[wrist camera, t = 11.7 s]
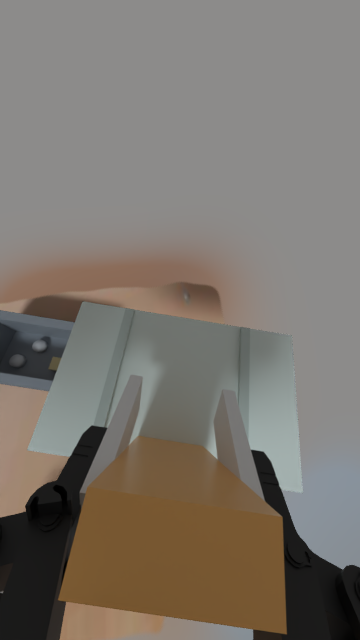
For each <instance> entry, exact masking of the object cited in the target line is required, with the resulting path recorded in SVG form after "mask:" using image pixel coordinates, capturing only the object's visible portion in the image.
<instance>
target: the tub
mask: <svg viewBox="0 0 360 640" xmlns="http://www.w3.org/2000/svg"><path fill="white" fill-rule="evenodd" d="M74 323H75V322H69V321H63V320H57V319H51V318H44V317H38V316H32V315H26V314H20V313H14V312H7V311H1V310H0V384H5V385H12V386H18V387H24V388H31V389H37V390H44V391H49V390H50V388H51V385H52V382H53V380H54V377H55V374H56V372H57V369H58V366H59V363H60V361H61V358H62V355H63V353H64V350H65V347H66V345H67V342H68V339H69V337H70V334H71V331H72V329H73V326H74Z"/></svg>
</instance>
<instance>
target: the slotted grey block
mask: <svg viewBox="0 0 360 640" xmlns="http://www.w3.org/2000/svg"><path fill="white" fill-rule="evenodd" d="M130 375H137V376H143V381H142V390H141V399H140V408H139V413H138V416H137V419H136V423H135V426H134V429H133V433H132V436H131V440H130V443H129V446H128V447H127V448H126V449H125V450H124V451H123V452H122V453H121V454H120V455H119V456H118V457H117V458H116V459H115V460H114V461H113V462H112V463H111V464H110V465H109V466H108V467H107V468H106V469H105V470H104V471H103V472H102V473H101V474H100V475H99V476H98V477H97V478H96V479H95V480H94V481H93V482H92V483H91V484H90V485H89V486H88V487H87V490H86V494H85V498H84V502H83V506H82V509H81V513H80V517H79V521H78V525H77V529H76V533H75V536H74V540H73V544H72V548H71V552H70V556H69V559H68V563H67V567H66V571H65V575H64V579H63V583H62V586H61V590H60V594H59V598H58V600H59V601H66V602H73V603H79V604H86V605H93V606H100V607H106V608H113V609H120V610H126V611H133V612H140V613H147V614H153V615H160V616H167V617H174V618H181V619H187V620H194V621H201V622H208V623H214V624H221V625H227V626H234V627H241V628H248V629H254V630H261V631H268V632H274V633H281V634H287V627H286V599H285V572H284V545H283V517H282V516H281V515H280V514H279V513H277V512H276V511H275V510H274V509H273V508H272V507H271V506H270V505H268V504H267V503H266V502H265V501H264V500H263V499H262V498H261V497H259V496H258V495H257V494H256V493H255V492H254V491H253V490H252V489H250V488H249V487H248V486H247V485H246V484H245V483H244V482H243V481H241V480H240V479H239V478H238V477H236V476H235V475H234V474H233V473H232V472H231V471H230V470H229V469H228V468H226V467H225V466H224V465H223V464H222V463H221V462H220V461H219V460H218V457H217V449H216V440H215V432H214V423H213V421H214V417H215V414H216V410H217V407H218V403H219V399H220V396H221V392H222V389H225V390H232V391H235V395H236V398H237V402H238V406H239V409H240V413H241V416H242V420H243V424H244V427H245V431H246V435H247V438H248V442H249V445H250V449H251V450H257V451H264V453H265V454H266V455H267V457H268V458H269V460H270V461H271V462H272V465H273V468H274V471H275V474H276V477H277V479H278V482H279V487H280V488H281V490H287V491H293V492H299V493H302V492H303V489H302V475H301V460H300V446H299V431H298V416H297V403H296V387H295V373H294V359H293V344H292V336H291V335H286V334H279V333H274V332H267V331H261V330H255V329H250V328H244V327H237V326H231V325H225V324H218V323H212V322H206V321H200V320H194V319H188V318H182V317H176V316H169V315H163V314H157V313H151V312H145V311H139V310H134V309H128V308H120V307H114V306H108V305H102V304H96V303H90V302H84V301H83V302H82V304H81V307H80V310H79V312H78V315H77V318H76V321H75V323H74V326H73V329H72V331H71V334H70V337H69V339H68V342H67V345H66V347H65V350H64V353H63V355H62V358H61V361H60V363H59V366H58V369H57V372H56V374H55V377H54V380H53V382H52V385H51V388H50V390H49V393H48V396H47V398H46V401H45V404H44V406H43V409H42V412H41V414H40V417H39V420H38V423H37V425H36V428H35V431H34V433H33V436H32V439H31V441H30V444H29V447H28V449H27V450H29V451H36V452H42V453H49V454H55V455H61V456H68V457H70V456H71V455H72V452H73V450H74V448H75V447H76V446H77V443H78V441H79V439H80V437H81V436H82V434H83V433H84V432H85V431H86V430H87V429H88V428H89V427H90V426H92V425H93V426H99V427H105V428H108V426H109V424H110V421H111V419H112V417H113V414H114V412H115V410H116V408H117V405H118V403H119V401H120V398H121V396H122V394H123V391H124V389H125V387H126V385H127V382H128V380H129V378H130Z"/></svg>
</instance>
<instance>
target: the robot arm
mask: <svg viewBox="0 0 360 640" xmlns="http://www.w3.org/2000/svg"><path fill="white" fill-rule="evenodd" d="M142 381H143V376H137V375H130V378H129V380H128V382H127V385H126V387H125V389H124V391H123V394H122V396H121V398H120V401H119V403H118V405H117V408H116V410H115V412H114V414H113V417H112V419H111V421H110V424H109V426H108V428H105V427H99V426H93V425H92V426H90V427H89V428H88V429H87V430H86V431H85V432H84V433H83V434H82V436H81V437H80V439H79V441H78V443H77V446H76V447H75V448H74V450H73V452H72V455H71V456H70V458H69V459H68V461H67V463H66V465H65V467H64V468H63V470H62V472H61V474H60V476H59V478H58V479H57V481H53V482H50V483H47V484H45V485H43V486H42V487H40V488H39V489H37V490H36V491H35V493H34V494H33V495H32V496H31V497H30V498H29V500H28V502H27V504H26V506H25V507H26V512H23V513H19V514H15V515H10V516H6V517H2V518H0V592H2V591H3V594H2V597H1V599H0V640H59V639H60V633H61V628H62V622H63V616H64V611H65V605H66V601H59V600H58V598H59V594H60V590H61V586H62V583H63V579H64V575H65V571H66V567H67V563H68V559H69V556H70V552H71V548H72V544H73V540H74V536H75V533H76V529H77V525H78V521H79V517H80V513H81V509H82V506H83V502H84V498H85V494H86V490H87V487H88V486H89V485H90V484H91V483H92V482H93V481H94V480H95V479H96V478H97V477H98V476H99V475H100V474H101V473H102V472H103V471H104V470H105V469H106V468H107V467H108V466H109V465H110V464H111V463H112V462H113V461H114V460H115V459H116V458H117V457H118V456H119V455H120V454H121V453H122V452H123V451H124V450H125V449H126V448H127V447H128V446H129V443H130V440H131V436H132V433H133V429H134V426H135V423H136V419H137V416H138V413H139V408H140V399H141V390H142ZM213 423H214V432H215V440H216V449H217V457H218V460H219V461H220V462H221V463H222V464H223V465H224V466H225V467H226V468H228V469H229V470H230V471H231V472H232V473H233V474H234V475H235V476H236V477H238V478H239V479H240V480H241V481H243V482H244V483H245V484H246V485H247V486H248V487H249V488H250V489H252V490H253V491H254V492H255V493H256V494H257V495H258V496H259V497H261V498H262V499H263V500H264V501H265V502H266V503H267V504H268V505H270V506H271V507H272V508H273V509H274V510H275V511H276V512H277V513H279V514H280V515H281V516H282V517H283V545H284V572H285V599H286V627H287V634H281V633H274V632H268V631H261V630H254V629H253V638H254V639H253V640H360V568H359V567H357V566H354V565H349V566H346V567H345V568H344V569H343V570H342V569H340V568H338V567H337V566H335V565H333V564H331V563H329V562H328V561H326V560H324V559H322V558H320V557H319V556H317V555H316V554H314V553H313V552H312V551H311V550H310V549H309V548H308V546H307V545H306V543H305V542H304V541H303V540H302V539H301V538H300V537H299V535H298V534H297V532H296V530H295V527H294V525H293V522H292V519H291V516H290V513H289V510H288V508H287V505H286V502H285V499H284V497H283V493H282V491H281V488H280V487H279V482H278V479H277V477H276V474H275V471H274V468H273V465H272V462H271V461H270V460H269V458H268V457H267V455H266V454H265V453H264V451H257V450H251V449H250V445H249V442H248V438H247V435H246V431H245V427H244V424H243V420H242V416H241V413H240V409H239V406H238V402H237V398H236V395H235V391H232V390H225V389H222V392H221V396H220V399H219V403H218V407H217V410H216V414H215V417H214V421H213Z"/></svg>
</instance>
